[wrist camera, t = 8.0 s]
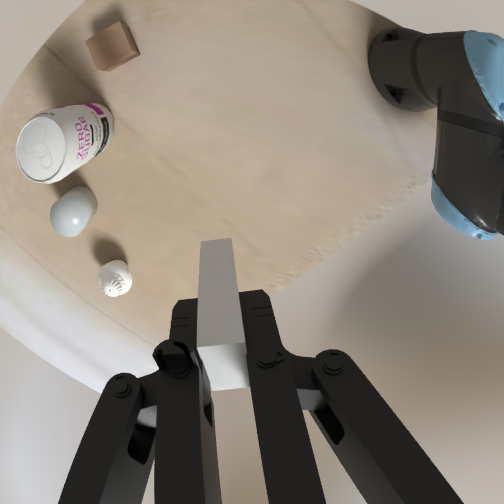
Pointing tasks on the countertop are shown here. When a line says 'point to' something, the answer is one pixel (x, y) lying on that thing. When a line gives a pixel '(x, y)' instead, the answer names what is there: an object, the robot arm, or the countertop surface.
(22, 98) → the countertop surface
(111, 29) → the walnut block
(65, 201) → the white rounded cylinder
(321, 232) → the countertop surface
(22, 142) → the supplement can
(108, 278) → the white ribbed rounded piece
